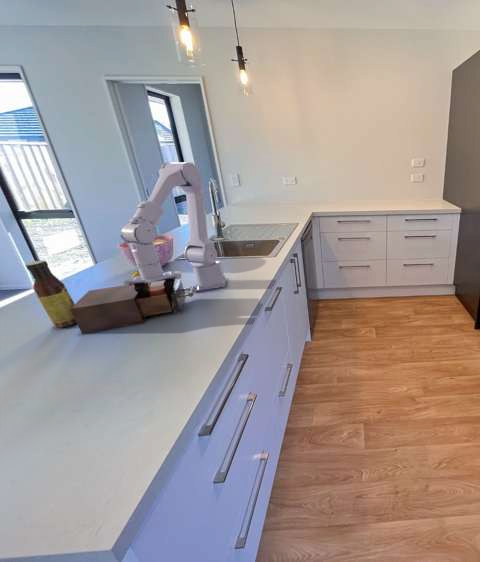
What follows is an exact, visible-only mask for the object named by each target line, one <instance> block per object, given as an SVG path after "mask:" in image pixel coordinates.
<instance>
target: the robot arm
mask: <svg viewBox="0 0 480 562" xmlns="http://www.w3.org/2000/svg"><path fill="white" fill-rule="evenodd" d="M201 172H202V171H201V169H200V168H199V167H198V166H197V165H196V164H194V162H191V161H186V162H182V161H181V162H179V161H178V162H171V161H166V162H164V163H163V164H162V165H161V168H159V170H158V175H159V176H158V178H157V182H156V183H155V186H154V187H153V190H152V192H151V193H150V196H149V198H148V200H144V201H141V203H138V205H137V209H136V211H135V213H134V215H133V217H131V218H130V219H129V223H127V224H125V225H124V226H122V229H121V234H120V238H121V239H122V240H123V242H124V241H125V242H127V243H128V245H129V247H130V248H131V251H132V253H133V256H134V259H135V262H136V264H137V267H136V268H137V269H138V270H137V271H139V272H140V275H141V276H137V277H133V278H131V277H128V278H124V280H123V283H124V285H125V286H126V287H128V286H131V285H134V286H135V287H134V290H135V291H137V292H138V293H139V294H141V295H142V296H143V297H144V298H147V297H150V295H149V293H148V289H149V286H148V283H151V284H152V283H156V282H162V281H163V285H164V287H165V289H166V291H167V293H168V297H169V300H170V302H172V301H173V300H172V297H171V293H172V291H173V288H174V286H175V283H176V282H175V281H176V279H177V280H181V279H182V277H183V276H182V273H181V271H180V270H178V271H164V270H163V266H161V264H160V261H159V258H158V255H157V252H156V249H155V246H154V243H153V240H154V239H155V238H156V235H157V232H156V229H157V225H158V223H159V221H160V219H161V217H162V216H163V214H164V210H163V207H162V206H163V205H164V203H165V202H166V200H167V199H168V198H169V196H170V195H171V193H172V191H173V190H174V189H175V187H178V188H180V189H181V190H182V191H183V192H185V197H186V209H187V218H188V219H187V220H188V228H189V238H188V240H187V241H186V242H184V243H185V249H184V252H183V256H184V259H185V260H186V261H187V262H188V263H190V266H192V269H193V272H194V276H195V279H196V283H197V286H196V288H195V291H196V292H200V291H207V290H212V289H218V288H224V287H225V286H226V275H225V273H224V269H223V265H222V262H221V261H217V260H218V252H217V249H216V246H215V245H216V244H215V243H214V242H213V241H212V240H211V239H210V238H209V237H208V227H207V226H208V225H207V212H206V201H205V190H204V189H205V188H204V185H203V182H202V173H201Z"/></svg>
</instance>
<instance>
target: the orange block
mask: <svg viewBox="0 0 480 562" xmlns="http://www.w3.org/2000/svg"><path fill="white" fill-rule="evenodd" d="M151 286H152V287H150V288H149V289H148V293H149V295H150V297H153V296H159V295H165V294H167V297H168V293H167V291H166V289H165V287H164V285H162V284H156V285H151ZM168 300H169V297H168ZM169 303H170V304H171V303H172V302H170V300H169Z"/></svg>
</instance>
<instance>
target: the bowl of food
mask: <svg viewBox="0 0 480 562" xmlns="http://www.w3.org/2000/svg"><path fill="white" fill-rule="evenodd" d="M153 243H154V246H155V249H156V252H157V255H158V258H159V261H160V264H161V267H164V266H165V265H166V264H168V262H170V261H171V260H172V258H173V256H174V238H173V236H172V235H168V234H156V238H155V239H154V240H153ZM117 248H118V249H119V251H120V252H121V254H122V255H123V256H124V258H125V259H126V260H127V262H128V263H129V264H130V265H132V266H133V267H135V268H138V267H137V264H136V262H135V259H134V256H133V253H132V251H131V248H130V247H129V245H128V243H127V242H125V241H124V240H123V241H122V242H120V243H118V244H117Z"/></svg>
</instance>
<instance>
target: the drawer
mask: <svg viewBox="0 0 480 562" xmlns="http://www.w3.org/2000/svg"><path fill="white" fill-rule="evenodd" d="M161 285H163V284H161ZM152 286H153V285H150V286H149V288H150V287H152ZM186 291H189V292H188V293H186ZM195 291H196V286H195V285H192V286H191V285H190V287H185V288H184V285H183V282H182V280H181V279H178V280H176V282H175V283H174V288H173V291H172V293H171V297H172V300H173V301H172V303H171V304H170V303H169V300H168V297H167V294H165V295H159V296H153V297H147V298H144V297H143V296H142V295H141V294H139V295H138V297H137V298H136V303H137V305H138V308H139V310H140V313H141V315H142V317H144V316H146V317H148V316H155V315H160V314H161V315H162V314H167V313H171V312H172V311H173V309H175V312H176V313H181V312H182V310H183V307H184V304H185V301H186V299H187V297H191V298H192V297H194V294H195Z"/></svg>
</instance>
